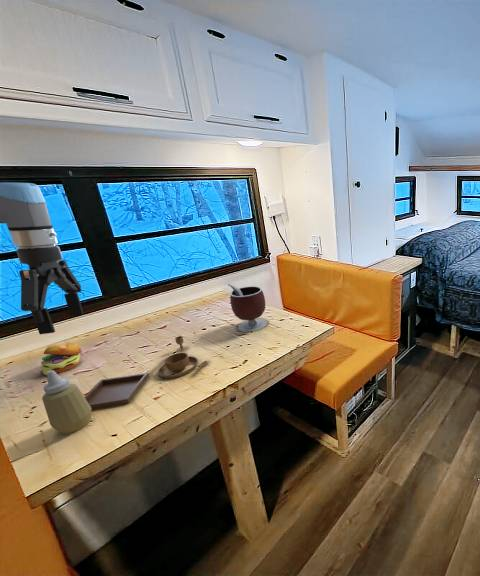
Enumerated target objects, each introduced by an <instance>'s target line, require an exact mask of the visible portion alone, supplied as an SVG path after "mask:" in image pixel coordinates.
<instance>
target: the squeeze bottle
mask: <svg viewBox="0 0 480 576" xmlns="http://www.w3.org/2000/svg"><path fill="white" fill-rule="evenodd" d="M46 377H47V383H46V384H45V385H43V387H42V390H43V391H44V393H43V395H42V397H41V400H42V402H43V403H42V404H43V405H44V410H45V412H46V416H47V418H48V422H49V425H50V426H51V428H53V429H54V430H55V431H57V432H59V433H60V434H62V435H68V434H73V433H75V432H78V431H80V430H82V429H84V428H85V427H87V426H88V425H89V424H90V423H91V419H92V410H91V407H90V405H89V403H88V402H87V400H86V399H85V397H84V396H85V395H84V394H83V393H82V391H81V390H80V388H79V387H78V385H77V384H75V383H71V382H70V380H69V379H70V378H68V377H60V375H59V374H58V373H55V372H54V370H51V371H48V372H47V375H46Z"/></svg>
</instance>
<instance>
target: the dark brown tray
mask: <svg viewBox="0 0 480 576" xmlns="http://www.w3.org/2000/svg"><path fill="white" fill-rule="evenodd" d="M149 378H150V374H149V372H143V373H137V374H131V375H123V376H117V377H109V378H103V379H100V380H99V381H98V382H97V383H96V384H95V385H94V386H93V387H92V388H91V389H90V390H89V391H88V392H87V393H86V394H85V395H83V396H84V397H85V399H86V400H87V402H88V403H89V405H90V407H91V411H92V410H96V409H97V410H98V409H102V408H103V409H104V408H109V407H115V406H122V405H127V404H130V402H131V401H132V400H133V399H134V398H135V396H136V395H137V394H138V392H140V390H141V388H142V387H143V386H144V384H145V383H146V382H147V380H148V379H149Z"/></svg>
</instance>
